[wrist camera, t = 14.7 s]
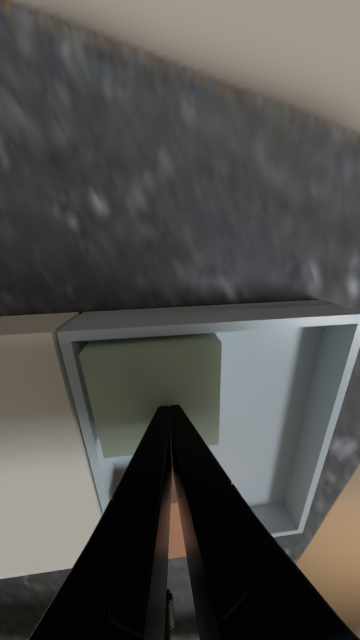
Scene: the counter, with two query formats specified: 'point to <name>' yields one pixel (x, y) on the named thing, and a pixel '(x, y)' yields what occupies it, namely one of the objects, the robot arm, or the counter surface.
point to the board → (41, 452)
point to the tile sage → (151, 385)
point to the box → (245, 393)
